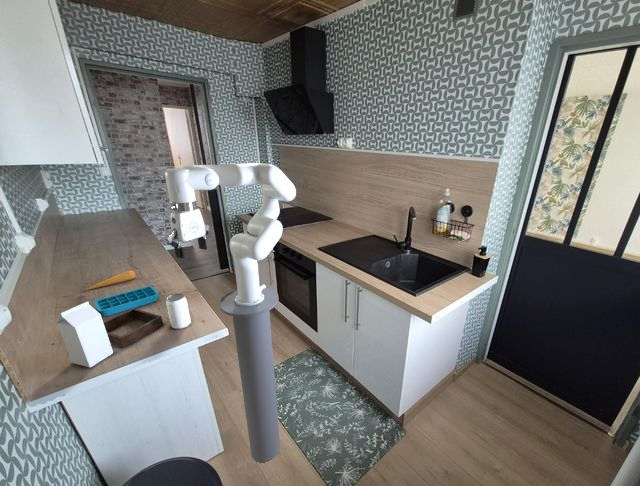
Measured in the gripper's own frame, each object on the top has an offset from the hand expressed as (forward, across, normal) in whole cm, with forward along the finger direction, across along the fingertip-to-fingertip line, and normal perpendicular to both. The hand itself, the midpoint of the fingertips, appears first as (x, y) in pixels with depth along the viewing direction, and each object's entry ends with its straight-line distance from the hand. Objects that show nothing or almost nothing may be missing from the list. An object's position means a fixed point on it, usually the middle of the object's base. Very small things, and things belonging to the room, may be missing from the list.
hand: (192, 253), depth 105 cm
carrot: (+28, +6, +62) cm, 68 cm away
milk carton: (+28, -30, +14) cm, 44 cm away
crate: (+28, -16, +18) cm, 37 cm away
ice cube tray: (+28, -3, +37) cm, 47 cm away
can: (+28, -6, +5) cm, 30 cm away
